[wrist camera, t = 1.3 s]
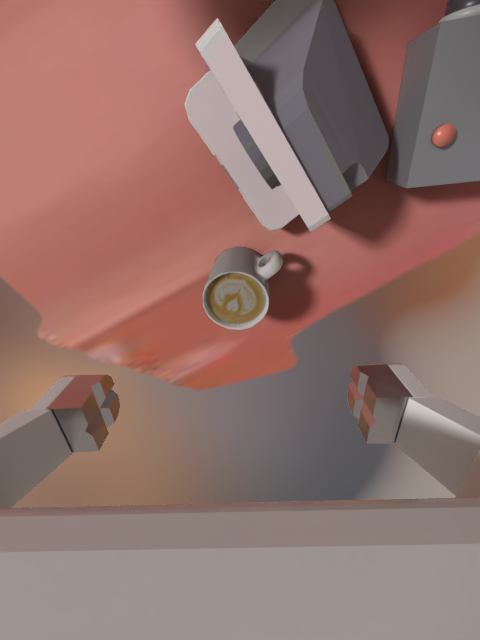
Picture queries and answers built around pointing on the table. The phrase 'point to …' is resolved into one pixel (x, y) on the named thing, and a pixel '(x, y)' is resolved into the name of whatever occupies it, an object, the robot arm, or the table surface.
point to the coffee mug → (240, 287)
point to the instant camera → (288, 112)
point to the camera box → (440, 104)
